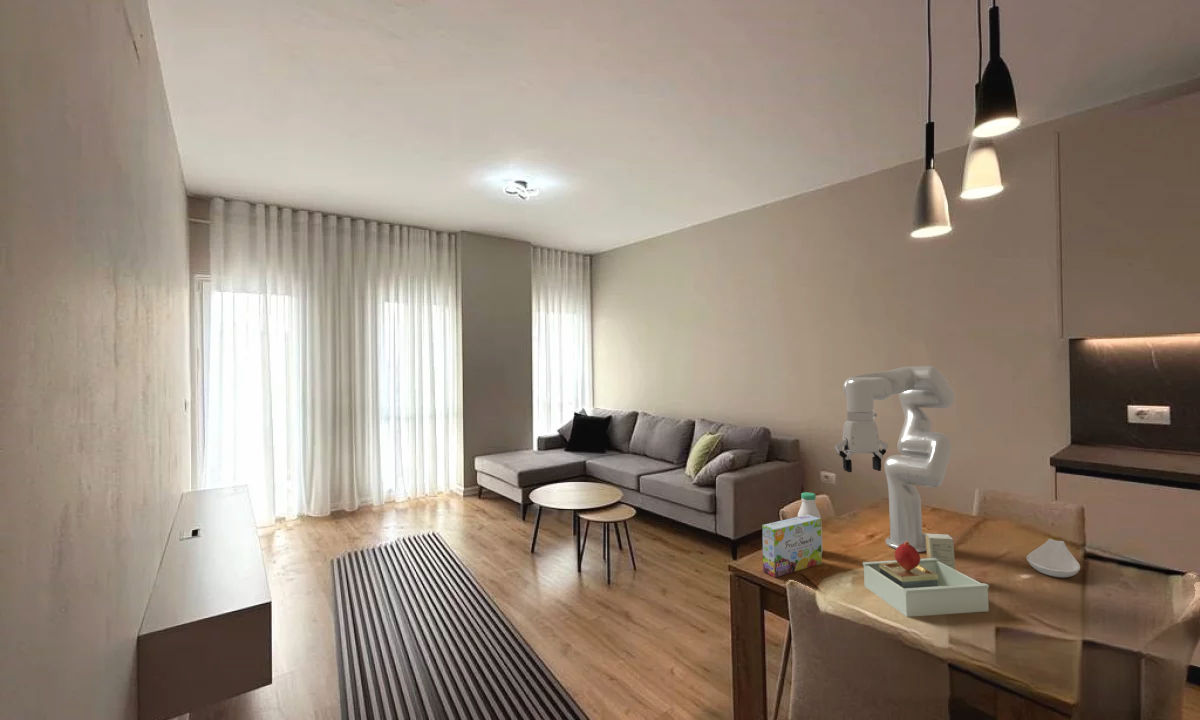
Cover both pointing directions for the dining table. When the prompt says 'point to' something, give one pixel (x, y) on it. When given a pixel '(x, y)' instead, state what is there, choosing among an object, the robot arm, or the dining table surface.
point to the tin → (909, 575)
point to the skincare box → (941, 548)
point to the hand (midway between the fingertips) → (862, 470)
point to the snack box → (791, 545)
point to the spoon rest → (1054, 559)
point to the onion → (907, 556)
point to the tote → (929, 591)
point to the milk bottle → (809, 508)
